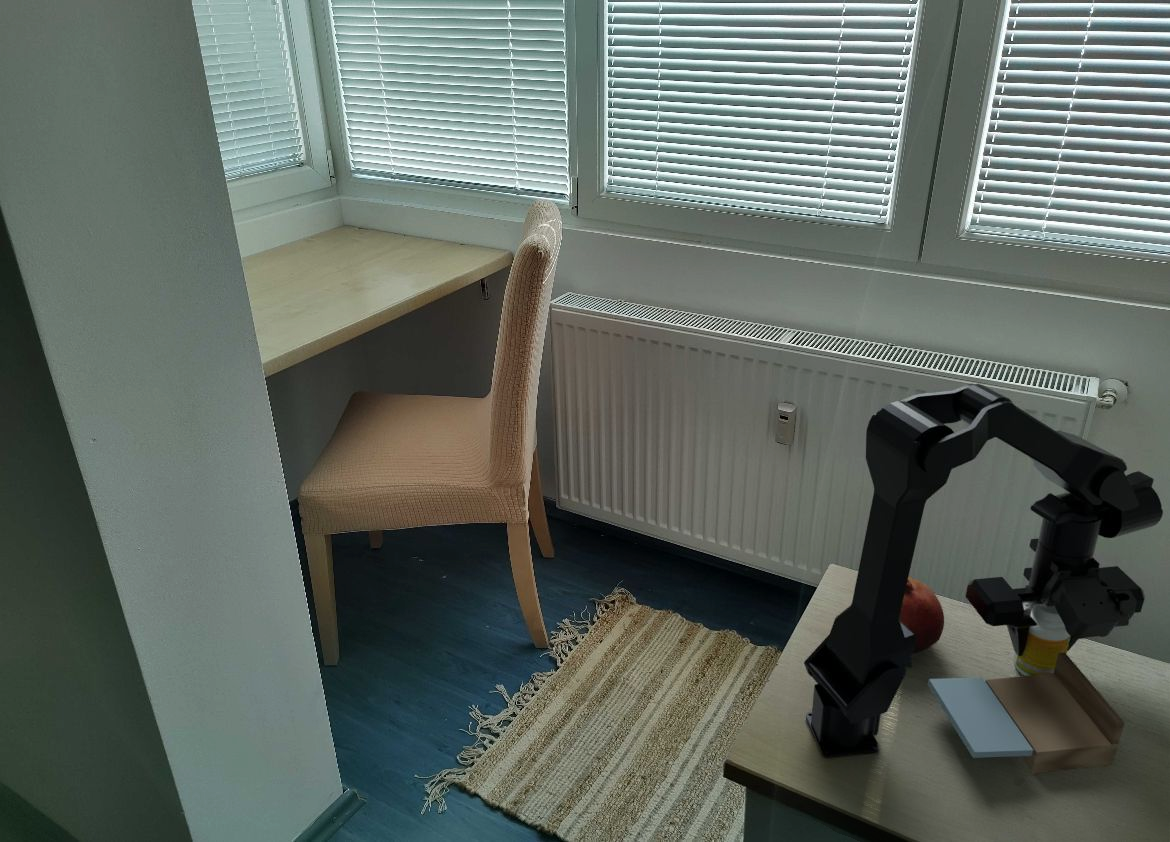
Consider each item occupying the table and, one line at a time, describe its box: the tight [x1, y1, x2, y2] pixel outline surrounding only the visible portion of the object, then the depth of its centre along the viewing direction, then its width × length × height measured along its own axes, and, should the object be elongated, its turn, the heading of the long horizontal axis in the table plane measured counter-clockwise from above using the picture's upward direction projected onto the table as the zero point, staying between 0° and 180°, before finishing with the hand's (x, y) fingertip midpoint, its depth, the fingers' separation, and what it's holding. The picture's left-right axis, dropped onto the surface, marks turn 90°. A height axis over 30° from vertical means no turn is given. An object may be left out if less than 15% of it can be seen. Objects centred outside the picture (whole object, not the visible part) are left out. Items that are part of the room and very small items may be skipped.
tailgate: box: [927, 677, 1033, 759], centre depth 100 cm, size 1×11×6 cm
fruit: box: [900, 576, 945, 654], centre depth 114 cm, size 11×10×10 cm
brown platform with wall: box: [985, 653, 1126, 774], centre depth 100 cm, size 9×11×6 cm
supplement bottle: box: [1013, 606, 1071, 676], centre depth 108 cm, size 5×5×10 cm
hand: (1040, 651), depth 109 cm, fingers closed on supplement bottle, 5 cm apart
